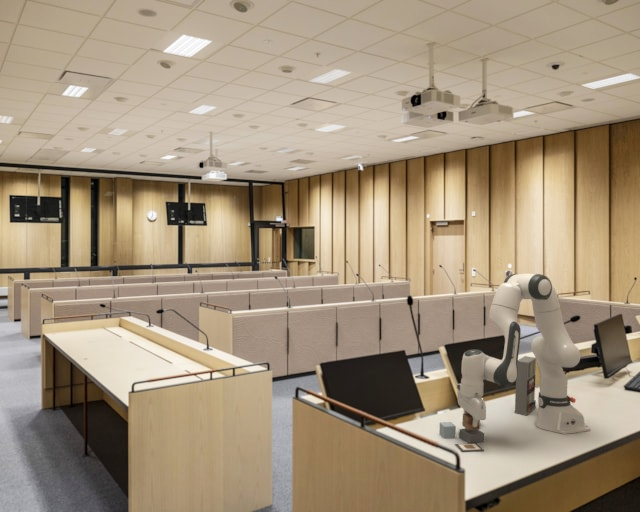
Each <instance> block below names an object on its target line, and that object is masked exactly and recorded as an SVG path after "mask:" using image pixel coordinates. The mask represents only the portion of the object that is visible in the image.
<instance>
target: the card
mask: <svg viewBox="0 0 640 512" xmlns="http://www.w3.org/2000/svg"><path fill="white" fill-rule="evenodd" d="M454 446H456V448H457V449H458V450H459V451H460V452H461V453H471V452H472V453H473V452H474V453H476V452H484V451H485V450H484V449H483V448H482V447H481V446H480V445H479V443H454Z"/></svg>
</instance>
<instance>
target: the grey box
mask: <svg viewBox="0 0 640 512" xmlns="http://www.w3.org/2000/svg"><path fill="white" fill-rule="evenodd" d="M536 364H537V360H536V357H535V356H533V357H532V356H526V355H524V356H523V357H521V358H518V362H517V368H518V376H517V379H516V381H515V396H514V397H515V399H514V402H515V403H514V413H515V414H520V415H525V416H529V414H530V413H532V412H533V411H534V410H535V409H536V403H537V401H536V399H535V397H536V396H535V395H536V393H535V392H536V372H537V371H536V368H537V367H536Z"/></svg>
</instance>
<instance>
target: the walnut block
mask: <svg viewBox="0 0 640 512" xmlns="http://www.w3.org/2000/svg"><path fill="white" fill-rule="evenodd" d="M472 422H473V416H472V415H470V414H469V413H464V412H463V413H462V427H463V428H464V429H465V428H466V429H467V430H480V426H479V422H480V423H481V420H478V423H477V427H473V426H472Z"/></svg>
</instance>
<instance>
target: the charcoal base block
mask: <svg viewBox="0 0 640 512" xmlns="http://www.w3.org/2000/svg"><path fill="white" fill-rule="evenodd" d="M458 435H459V437H458V438H459V439H461V441H463V442H465V444H468V443H477V444H484V443H485V432H484V431H481V430H480V429H479V430H467V429H466V428H465V427H464V428H459V433H458Z"/></svg>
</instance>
